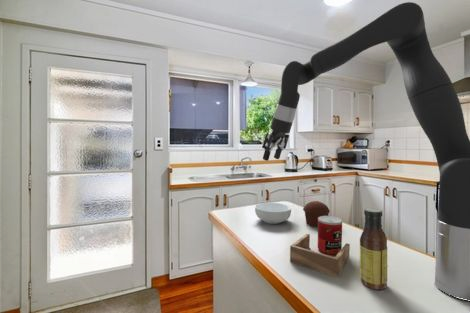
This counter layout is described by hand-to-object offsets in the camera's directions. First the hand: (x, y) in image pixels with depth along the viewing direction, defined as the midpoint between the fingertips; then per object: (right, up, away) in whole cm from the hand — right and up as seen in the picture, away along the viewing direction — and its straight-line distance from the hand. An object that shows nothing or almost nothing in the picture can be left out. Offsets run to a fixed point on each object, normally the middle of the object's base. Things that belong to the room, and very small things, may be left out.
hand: (271, 159), depth 94 cm
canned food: (+18, -31, -11) cm, 38 cm away
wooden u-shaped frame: (+13, -32, -18) cm, 39 cm away
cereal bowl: (+4, -30, +19) cm, 36 cm away
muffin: (+23, -30, +16) cm, 41 cm away
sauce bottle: (+22, -33, -31) cm, 50 cm away
